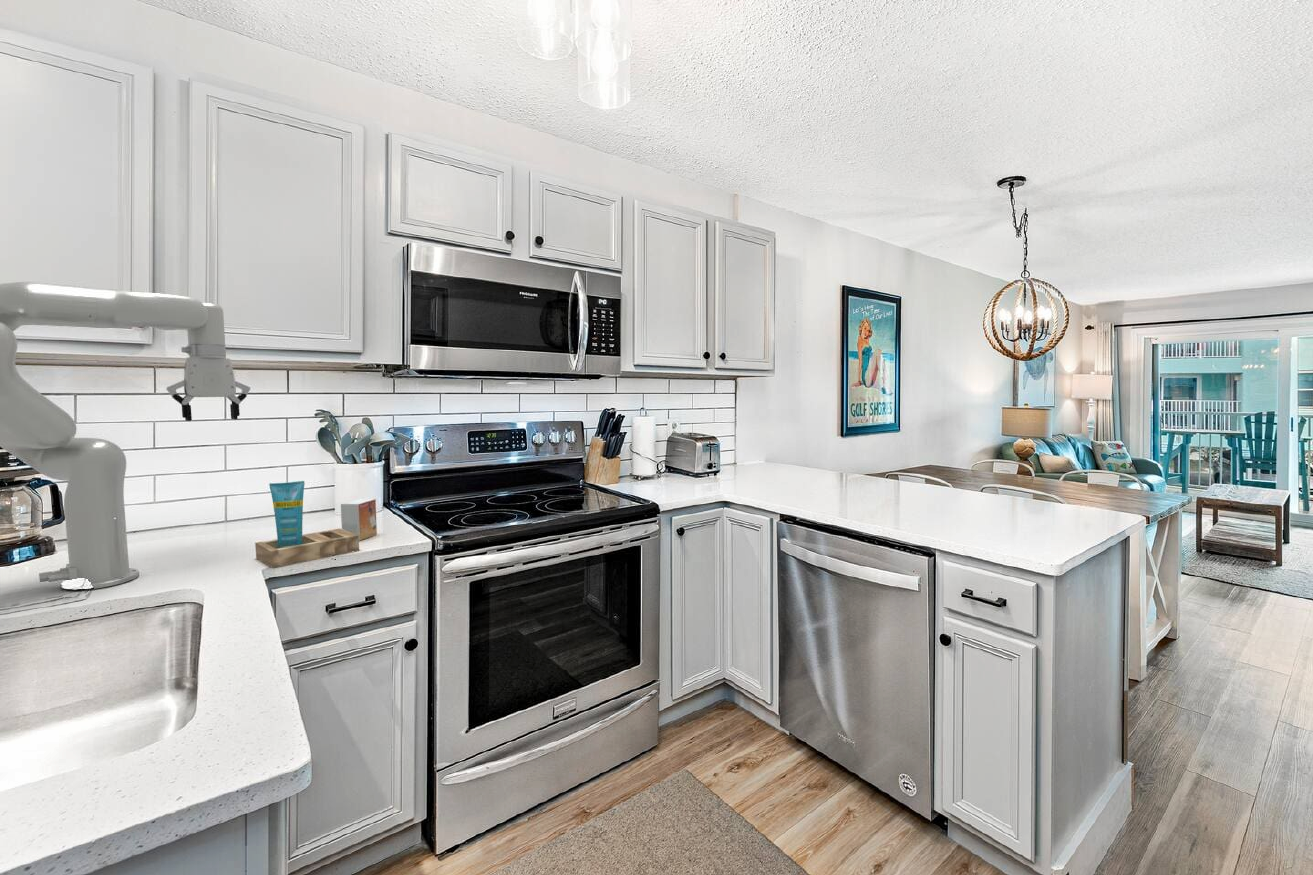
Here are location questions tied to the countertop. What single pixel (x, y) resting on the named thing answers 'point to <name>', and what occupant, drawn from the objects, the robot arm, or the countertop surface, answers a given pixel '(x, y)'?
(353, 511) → the small box
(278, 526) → the tube
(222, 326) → the robot arm
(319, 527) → the countertop surface
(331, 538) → the holder block
